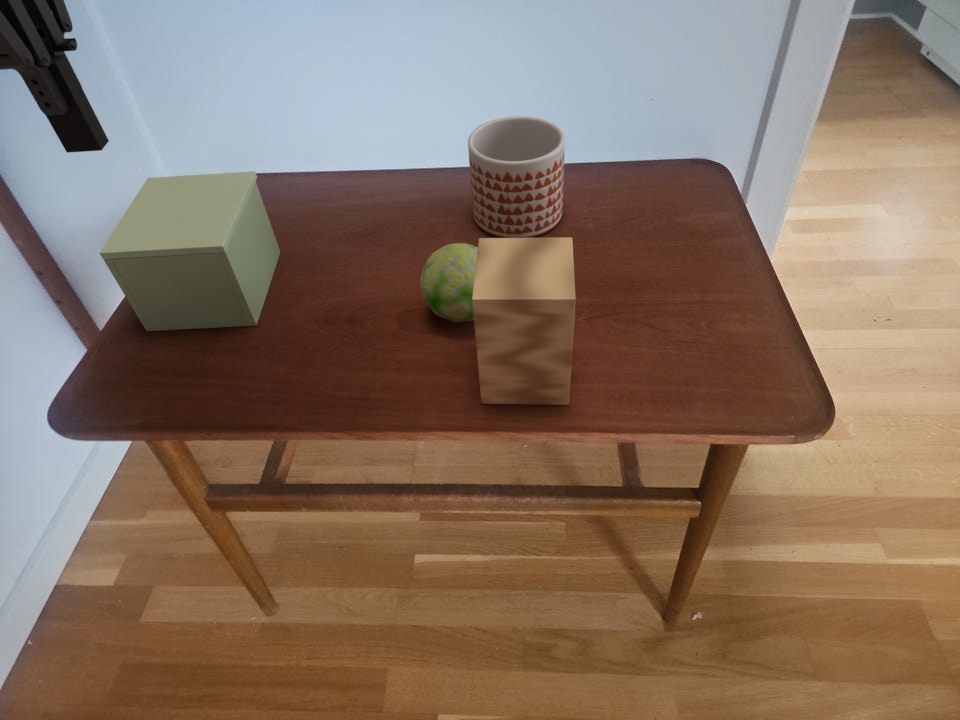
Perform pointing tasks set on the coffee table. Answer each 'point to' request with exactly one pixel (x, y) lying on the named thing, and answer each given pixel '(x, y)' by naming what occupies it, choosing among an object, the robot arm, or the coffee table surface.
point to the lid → (181, 216)
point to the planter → (517, 176)
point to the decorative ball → (450, 281)
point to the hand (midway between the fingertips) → (87, 146)
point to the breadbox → (205, 279)
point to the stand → (524, 319)
